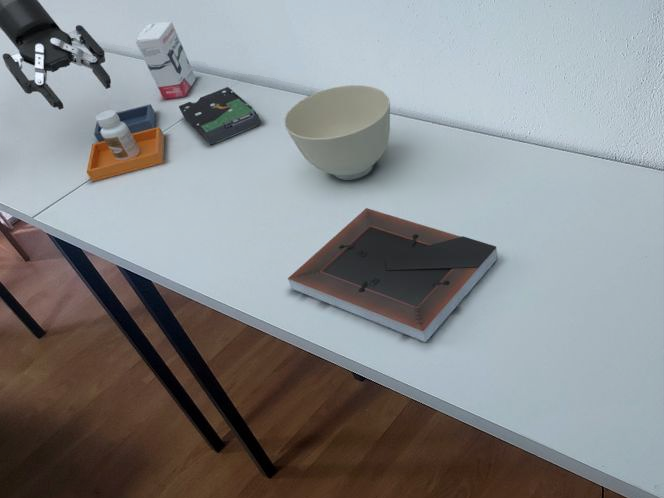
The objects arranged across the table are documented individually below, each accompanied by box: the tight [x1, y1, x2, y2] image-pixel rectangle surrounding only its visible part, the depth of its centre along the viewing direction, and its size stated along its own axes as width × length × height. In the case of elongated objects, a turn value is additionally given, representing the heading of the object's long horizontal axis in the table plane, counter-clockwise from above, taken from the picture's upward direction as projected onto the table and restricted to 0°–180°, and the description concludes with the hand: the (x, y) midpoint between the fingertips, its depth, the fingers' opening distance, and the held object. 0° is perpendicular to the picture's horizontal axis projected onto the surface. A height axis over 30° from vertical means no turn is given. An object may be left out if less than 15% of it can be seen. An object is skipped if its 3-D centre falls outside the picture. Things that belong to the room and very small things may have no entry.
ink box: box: [135, 21, 197, 100], centre depth 128 cm, size 8×5×12 cm, turn 1°
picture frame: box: [287, 207, 498, 343], centre depth 82 cm, size 16×2×22 cm
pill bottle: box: [95, 109, 140, 161], centre depth 111 cm, size 4×4×8 cm
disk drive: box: [178, 86, 261, 145], centre depth 119 cm, size 10×3×15 cm
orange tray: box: [86, 126, 165, 182], centre depth 114 cm, size 12×10×2 cm
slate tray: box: [93, 103, 156, 143], centre depth 122 cm, size 10×7×2 cm
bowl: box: [283, 84, 391, 181], centre depth 99 cm, size 16×16×10 cm
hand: (85, 96), depth 108 cm, fingers open, 8 cm apart
